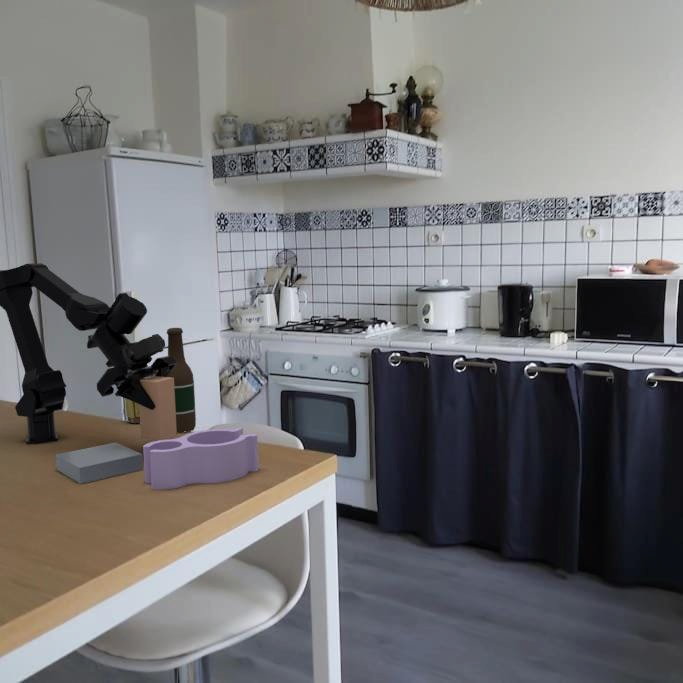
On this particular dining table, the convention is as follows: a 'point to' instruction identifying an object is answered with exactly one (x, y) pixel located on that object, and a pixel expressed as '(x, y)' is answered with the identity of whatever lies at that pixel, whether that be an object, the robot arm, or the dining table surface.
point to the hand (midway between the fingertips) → (162, 405)
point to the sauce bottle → (132, 409)
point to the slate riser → (98, 462)
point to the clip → (200, 458)
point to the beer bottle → (181, 383)
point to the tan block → (159, 409)
